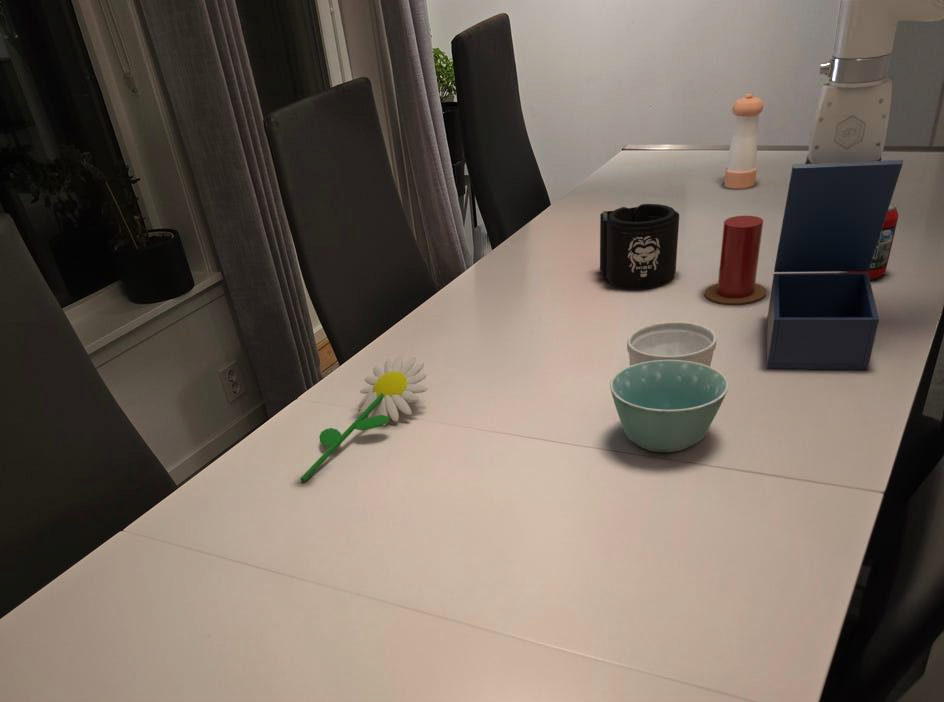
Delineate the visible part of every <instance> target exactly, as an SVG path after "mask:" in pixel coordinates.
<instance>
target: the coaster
mask: <svg viewBox="0 0 944 702" xmlns="http://www.w3.org/2000/svg"><path fill="white" fill-rule="evenodd" d="M717 288H718V283H715V284H712V285H709V286H708V287H707V288H705V290H704V293H703V294H704V295H703V296H704V298H705V299H707V301H710V302H712V303H715V304H720V305H726V306H742V305H749V304H754V303H757V302H759V301H761V300H763V299H764V298H765V297H766V295H767V290H766V288H765V287H764V286H763V285H761V284H758V283H756V282H755V289H754V293H753V294H752V295H750V296H748V297H744V298H726V297H722V296H720V295H719V294H718V293H717Z"/></svg>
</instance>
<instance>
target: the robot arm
mask: <svg viewBox="0 0 944 702" xmlns="http://www.w3.org/2000/svg"><path fill="white" fill-rule="evenodd" d="M943 20H944V0H841V2H840V8H839V15H838V21H837V27H836V33H835V40H834V46H833V52H832V56H831V59H829V61H826V62H821V63H820V65H819V71H818V72H819V73H818V75H824V76H827V78H829V79H828V81H825V82H824V83H823V85H822V87H821V90H820V93H819V96H818V100H817V105H816V108H815V112H814V116H813V121H812V125H811V130H810V135H809V141H808V149H807V151H808V153H807V155H806V157H805V161H804V163H803V164H819V163H842V162H865V161H882V155H883V152H884V148H885V145H886V139H887V132H888V126H889V120H890V115H891V114H890V113H891V107H892V106H891V105H892V94H893V81H892V79H890V78H888V73H889V68H890V62H891V58H892V52H893V48H894V43H895V38H896V32H897V28H898V23H899V22H901V21H903V22H906V21H907V22H923V23H932V22H938V21H939V22H940V21H943Z"/></svg>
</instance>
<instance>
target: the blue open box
mask: <svg viewBox="0 0 944 702" xmlns="http://www.w3.org/2000/svg"><path fill="white" fill-rule="evenodd" d="M771 282H772V284H771V290H770V297H769V305H768V311H767V317H766V369H788V370H849V371H850V370H851V371H852V370H853V371H867V370H869V365H870V361H871V355H872V351H873V348H874V343H875V339H876V334H877V330H878V327H879V321H880V318H879V314H878V309H877V305H876V300H875V296H874V291H873V287H872V284H871V280H870V279H869V275H868V272H863V273H848V272H778V273H773V276H772V281H771Z"/></svg>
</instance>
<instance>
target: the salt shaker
mask: <svg viewBox="0 0 944 702" xmlns="http://www.w3.org/2000/svg"><path fill="white" fill-rule="evenodd" d="M764 107H765V106H764V102H763V100H762V99H761V98H759V97H757V96H753V93H746V95H745V97H741V98H739V99H737V100H736V101H735V102H734V103H733V104H732V108H731V111H732V114H733V115H734V122H733V123H734V124H733V132H732V138H731V141H730V147H729V151H728V156H727V168H726V169H725V171H724V173H725V174H724V183H723V186H724V188H728V189H733V190H734V189H748V188H751V187H753V186H755V184H756V178H757V167H756V164H757V158H758V128H759V121H760V120H759V118H760V114H761V113H762V112H763V109H764Z"/></svg>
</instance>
